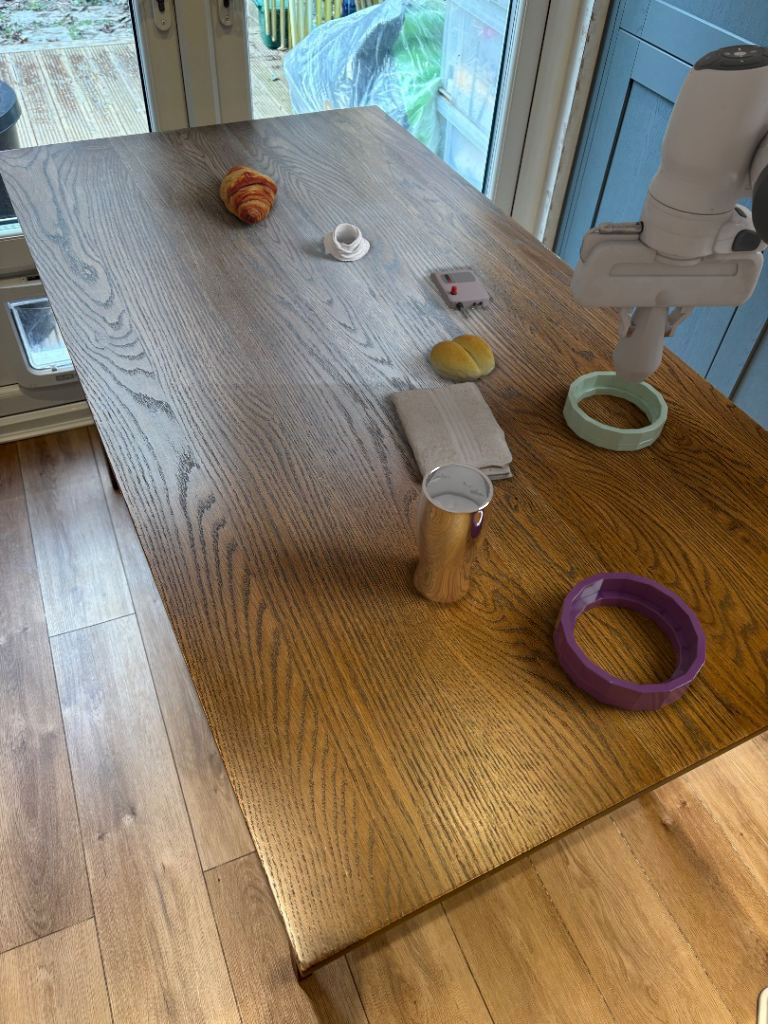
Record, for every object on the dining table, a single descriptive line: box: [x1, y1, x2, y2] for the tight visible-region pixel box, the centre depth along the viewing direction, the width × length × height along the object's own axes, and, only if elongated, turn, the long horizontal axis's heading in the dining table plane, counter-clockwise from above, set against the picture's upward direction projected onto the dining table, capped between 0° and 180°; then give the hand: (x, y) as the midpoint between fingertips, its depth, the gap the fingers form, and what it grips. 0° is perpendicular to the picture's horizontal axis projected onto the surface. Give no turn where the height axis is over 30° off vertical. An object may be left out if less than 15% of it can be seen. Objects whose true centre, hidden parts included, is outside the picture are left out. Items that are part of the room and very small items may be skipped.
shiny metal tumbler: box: [413, 462, 494, 604], centre depth 74 cm, size 7×7×15 cm
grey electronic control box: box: [429, 269, 490, 320], centre depth 119 cm, size 7×16×3 cm, turn 15°
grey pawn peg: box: [611, 290, 675, 383], centre depth 88 cm, size 6×6×13 cm
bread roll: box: [429, 334, 496, 383], centre depth 105 cm, size 8×9×4 cm
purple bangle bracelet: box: [552, 571, 707, 712], centre depth 73 cm, size 14×14×4 cm
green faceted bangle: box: [562, 370, 669, 452], centre depth 98 cm, size 13×13×4 cm
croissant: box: [219, 165, 278, 225], centre depth 135 cm, size 21×10×8 cm, turn 14°
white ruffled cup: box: [322, 222, 371, 263], centre depth 125 cm, size 8×7×5 cm
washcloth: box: [389, 381, 513, 481], centre depth 94 cm, size 12×18×3 cm, turn 15°
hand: (644, 334), depth 89 cm, fingers closed on grey pawn peg, 3 cm apart
